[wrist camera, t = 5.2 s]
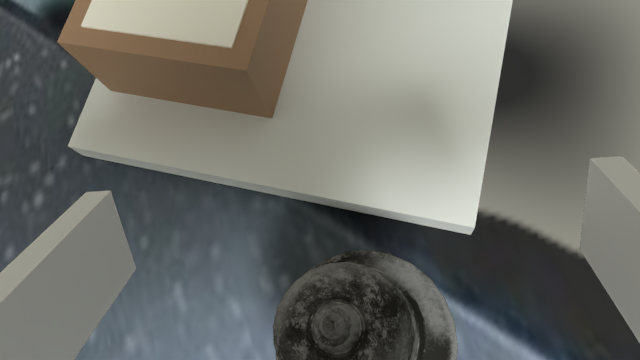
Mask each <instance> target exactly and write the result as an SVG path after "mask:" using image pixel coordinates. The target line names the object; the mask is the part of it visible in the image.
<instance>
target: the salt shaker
mask: <svg viewBox="0 0 640 360" xmlns="http://www.w3.org/2000/svg"><path fill="white" fill-rule="evenodd" d="M273 333H274V346H275V350H276V360H457V351H458V343H457V336H456V329H455V322H454V319H453V317H452V314H451V312H450V309H449V307H448V305H447V302H446V300H445V298H444V296H443V295H442V294H441V292H440V291H439V290H438V288H437V287H436V286H435V284H434V283H433V282H432V280H431V279H430V278H429V277H428V276H427V275H425V274H424V273H423V272H422V271H420V270H419V269H418V268H417V267H415V266H414V265H413V264H412V263H410V262H407V261H405V260H403V259H401V258H399V257H396V256H394V255H392V254H389V253H383V252H377V251H371V250H361V251H350V252H344V253H341V254H338V255H335V256H333V257H330V258H327V259H324V260H323V261H321V262H320V263H319V264H317V265H316V266H314V267H313V268H311V269H310V270H308V271H307V272H306V273H305V274H304V275H303V276H302V277H300V278H299V279H297V280H296V281H295V282H294V284H293V285H292V286H291V287H290V288H289V289H288V290H287V291H286V293H285V294H284V296H283V298H282V300H281V302H280V304H279V306H278V308H277V312H276V316H275V321H274V325H273Z"/></svg>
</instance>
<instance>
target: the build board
mask: <svg viewBox="0 0 640 360" xmlns="http://www.w3.org/2000/svg"><path fill="white" fill-rule="evenodd" d="M512 1H513V0H76V1H75V3H74V5H73V8H72V10H71V12H70V14H69V17H68V19H67V21H66V23H65V26H64V28H63V30H62V32H61V34H60V37H59V39H58V41H57V42H58V43H59V44H60V45H61V46H62V47H63V48H64V49H65V50H66V51H67V52H69V53H70V54H71V55H72V56H73V57H74V58H75V59H76V60H77V61H78V62H80V63H81V64H82V65H83V66H84V67H85V68H86V69H87V70H88V71H89V72H90V73H92V74H93V75H94V76H95V77H96V79H95V82H94V84H93V86H92V89H91V91H90V94H89V96H88V98H87V101H86V103H85V106H84V108H83V111H82V113H81V115H80V118H79V120H78V123H77V125H76V127H75V130H74V132H73V135H72V137H71V139H70V142H69V144H68V147H70V148H72V149H73V150H75V151H76V152H78V153H80V154H81V155H83V156H87V157H92V158H97V159H102V160H107V161H111V162H116V163H121V164H126V165H131V166H136V167H141V168H146V169H151V170H156V171H160V172H165V173H170V174H175V175H180V176H185V177H190V178H195V179H200V180H205V181H209V182H214V183H219V184H224V185H229V186H234V187H239V188H244V189H249V190H254V191H258V192H263V193H268V194H273V195H278V196H283V197H288V198H293V199H298V200H303V201H307V202H312V203H317V204H322V205H327V206H332V207H337V208H342V209H347V210H351V211H356V212H361V213H366V214H371V215H376V216H381V217H386V218H391V219H396V220H400V221H405V222H410V223H415V224H420V225H425V226H430V227H435V228H440V229H445V230H449V231H454V232H459V233H464V234H469V235H471V233H472V232H473V230H474V228H475V223H476V217H477V211H478V205H479V198H480V193H481V187H482V181H483V174H484V169H485V163H486V157H487V151H488V144H489V139H490V133H491V127H492V121H493V114H494V108H495V102H496V96H497V91H498V85H499V79H500V72H501V67H502V61H503V55H504V49H505V42H506V37H507V30H508V24H509V19H510V13H511V7H512Z"/></svg>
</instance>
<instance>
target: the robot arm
mask: <svg viewBox="0 0 640 360" xmlns="http://www.w3.org/2000/svg"><path fill="white" fill-rule="evenodd" d="M580 250H581V252H582V253H583V255H584V256H585V258H586V260H587V261H588V263H589V264H590V266H591V267H592V269H593V271H594V272H595V274H596V275H597V277H598V278H599V280H600V282H601V283H602V285H603V286H604V288H605V289H606V291H607V293H608V294H609V296H610V297H611V299H612V300H613V302H614V304H615V305H616V307H617V308H618V310H619V311H620V313H621V315H622V316H623V318H624V319H625V321H626V322H627V324H628V326H629V327H630V329H631V330H632V332H633V333H634V335H635V337H636V338H637V340H638V341H639V343H640V173H639V172H638V171H637V170H636V169H635V168H634V167H633V166H632V165H631V164H630V163H629V162H628V161H627V160H625V159H624V158H623V157H622V156H619V157H605V158H591V159H590V164H589V173H588V181H587V190H586V199H585V207H584V215H583V224H582V232H581V241H580ZM135 270H136V267H135V263H134V260H133V257H132V254H131V251H130V248H129V245H128V242H127V239H126V236H125V233H124V230H123V227H122V224H121V221H120V218H119V215H118V211H117V208H116V205H115V202H114V199H113V196H112V193H111V191H96V192H86V193H85V194H84V195H82V196H81V197H80V198H79V199H78V200H77V201H76V202H75V203H74V204H73V205H72V206H71V207H70V208H69V209H68V210H67V211H65V212H64V213H63V214H62V215H61V216H60V217H59V218H58V219H57V220H56V221H55V222H54V223H53V224H52V225H51V226H49V227H48V228H47V229H46V230H45V231H44V232H43V233H42V234H41V235H40V236H39V237H38V238H37V239H36V240H35V241H34V242H32V243H31V244H30V245H29V246H28V247H27V248H26V249H25V250H24V251H23V252H22V253H21V254H20V255H19V256H18V257H16V258H15V259H14V260H13V261H12V262H11V263H10V264H9V265H8V266H7V267H6V268H5V269H4V270H3V271H2V272H1V273H0V360H74V359H75V358H76V356H77V355H78V353H79V352H80V350H81V349H82V347H83V346H84V344H85V343H86V342H87V340H88V339H89V337H90V336H91V334H92V333H93V331H94V330H95V328H96V327H97V325H98V324H99V322H100V321H101V320H102V318H103V317H104V315H105V314H106V312H107V311H108V309H109V308H110V306H111V305H112V303H113V302H114V301H115V299H116V298H117V296H118V295H119V293H120V292H121V290H122V289H123V287H124V286H125V284H126V283H127V282H128V280H129V279H130V277H131V276H132V274H133V273H134V271H135Z"/></svg>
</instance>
